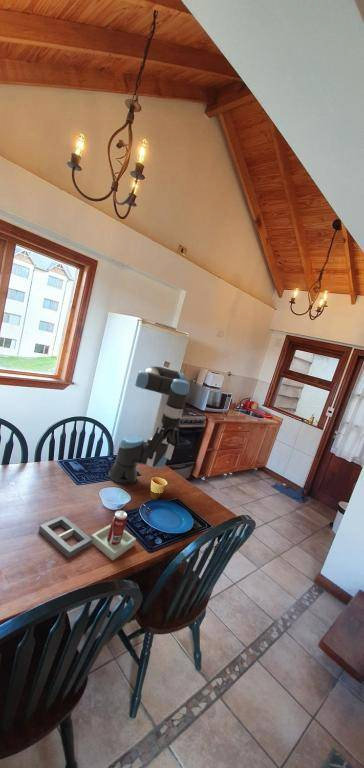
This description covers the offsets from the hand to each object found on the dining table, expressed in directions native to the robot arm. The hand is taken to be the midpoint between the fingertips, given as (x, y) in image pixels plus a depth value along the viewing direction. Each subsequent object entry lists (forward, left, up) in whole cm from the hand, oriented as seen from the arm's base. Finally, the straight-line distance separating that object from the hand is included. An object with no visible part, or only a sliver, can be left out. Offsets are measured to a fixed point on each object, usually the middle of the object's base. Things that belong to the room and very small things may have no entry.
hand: (158, 461), depth 132 cm
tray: (+2, -21, -28) cm, 35 cm away
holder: (-11, -33, -28) cm, 45 cm away
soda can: (+2, -21, -28) cm, 35 cm away
